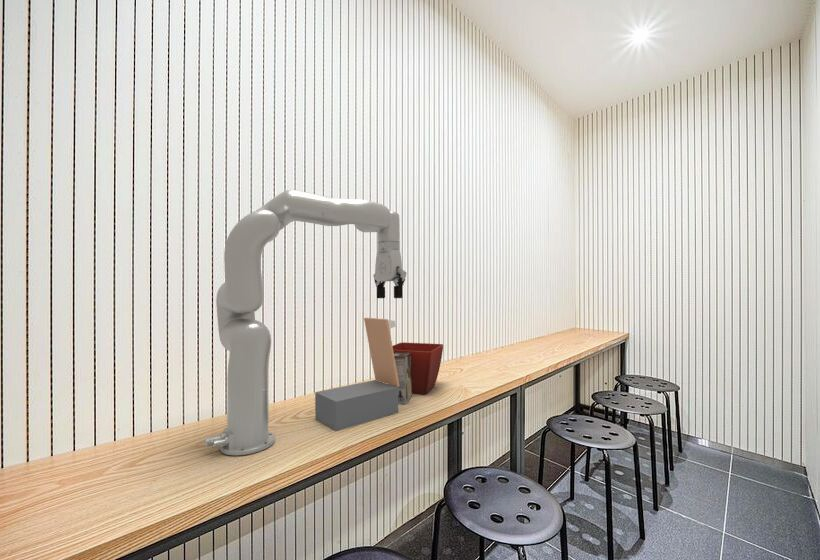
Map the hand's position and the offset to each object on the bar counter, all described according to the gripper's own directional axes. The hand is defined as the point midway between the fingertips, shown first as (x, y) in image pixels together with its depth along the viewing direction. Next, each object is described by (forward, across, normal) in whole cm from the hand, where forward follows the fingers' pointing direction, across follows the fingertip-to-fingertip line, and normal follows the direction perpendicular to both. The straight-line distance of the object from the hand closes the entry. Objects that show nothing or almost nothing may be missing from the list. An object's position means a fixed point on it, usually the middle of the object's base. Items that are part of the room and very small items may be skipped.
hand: (389, 298), depth 120 cm
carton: (+36, 0, -13) cm, 39 cm away
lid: (+17, 0, -4) cm, 18 cm away
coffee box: (+36, -3, +7) cm, 37 cm away
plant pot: (+36, -10, +20) cm, 43 cm away
